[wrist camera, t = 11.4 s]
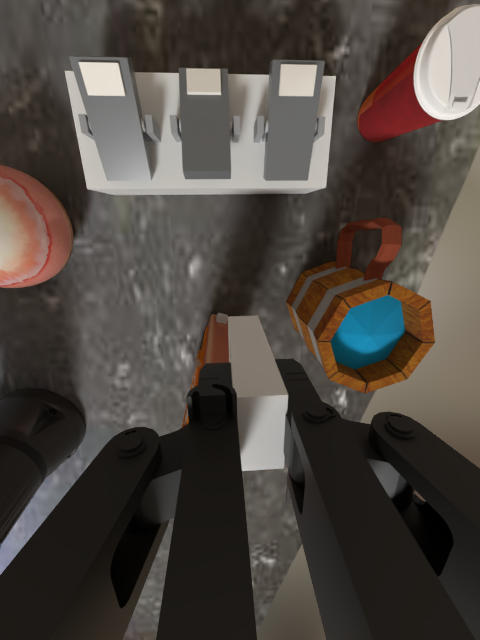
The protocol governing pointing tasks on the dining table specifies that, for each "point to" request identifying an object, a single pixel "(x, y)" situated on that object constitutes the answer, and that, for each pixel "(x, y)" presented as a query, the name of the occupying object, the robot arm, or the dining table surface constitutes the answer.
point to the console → (166, 144)
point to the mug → (362, 315)
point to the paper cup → (429, 80)
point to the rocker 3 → (291, 118)
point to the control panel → (211, 349)
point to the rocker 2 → (205, 123)
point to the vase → (31, 231)
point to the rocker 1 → (114, 115)
